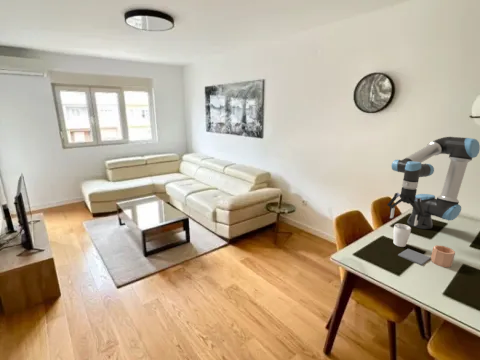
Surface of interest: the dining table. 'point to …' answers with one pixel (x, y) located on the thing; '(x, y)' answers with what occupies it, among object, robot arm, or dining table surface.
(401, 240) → the cup
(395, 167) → the robot arm
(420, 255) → the mat
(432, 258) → the pot
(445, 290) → the dining table surface
